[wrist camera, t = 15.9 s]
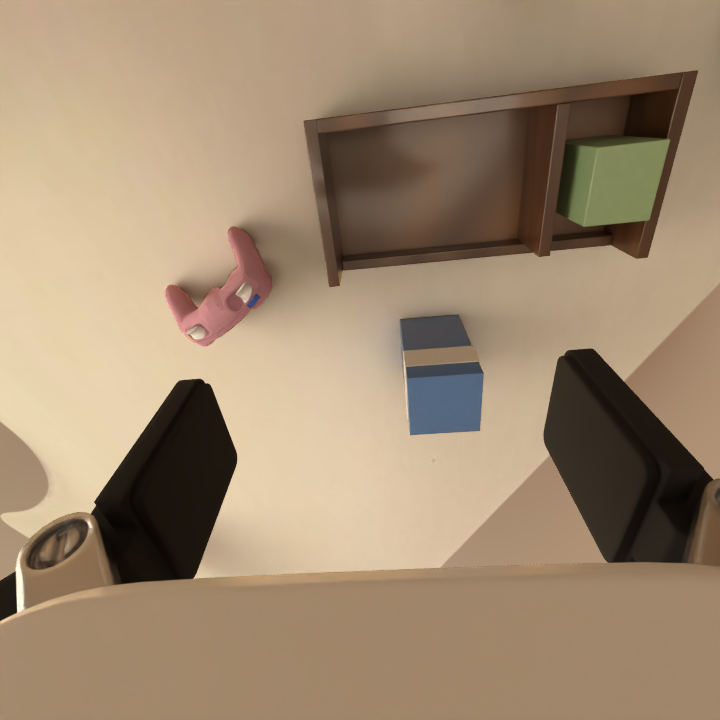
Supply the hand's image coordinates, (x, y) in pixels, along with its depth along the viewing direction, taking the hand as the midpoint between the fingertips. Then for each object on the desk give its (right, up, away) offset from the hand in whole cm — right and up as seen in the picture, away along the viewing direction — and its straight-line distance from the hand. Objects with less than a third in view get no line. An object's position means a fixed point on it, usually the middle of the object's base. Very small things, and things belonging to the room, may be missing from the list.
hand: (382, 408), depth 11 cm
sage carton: (+16, +15, +19) cm, 29 cm away
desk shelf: (+8, +15, +20) cm, 27 cm away
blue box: (+6, +3, +28) cm, 29 cm away
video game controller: (-13, +9, +25) cm, 30 cm away
